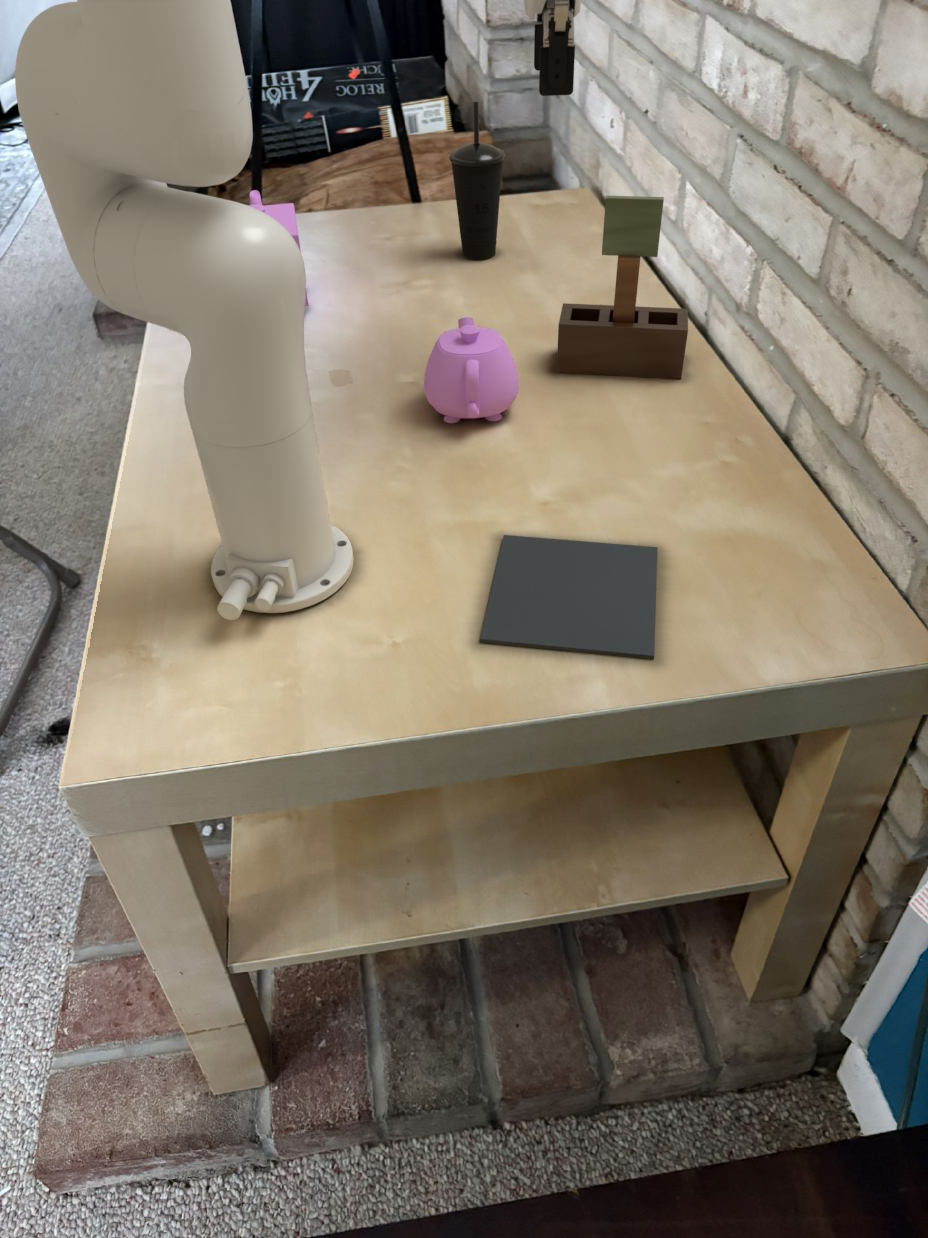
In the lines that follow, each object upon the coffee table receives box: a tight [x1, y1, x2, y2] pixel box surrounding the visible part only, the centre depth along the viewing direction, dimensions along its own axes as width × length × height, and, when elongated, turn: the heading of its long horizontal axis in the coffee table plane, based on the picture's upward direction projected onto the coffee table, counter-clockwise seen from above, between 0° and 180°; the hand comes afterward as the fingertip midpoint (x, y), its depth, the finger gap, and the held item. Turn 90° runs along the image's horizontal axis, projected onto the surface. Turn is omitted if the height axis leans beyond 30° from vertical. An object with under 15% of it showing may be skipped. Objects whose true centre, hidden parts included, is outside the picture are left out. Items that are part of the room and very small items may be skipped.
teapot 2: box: [423, 316, 520, 424], centre depth 100 cm, size 10×15×9 cm
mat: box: [479, 534, 658, 660], centre depth 79 cm, size 14×14×1 cm
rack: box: [556, 302, 689, 380], centre depth 107 cm, size 6×14×6 cm, turn 80°
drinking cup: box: [448, 101, 506, 261], centre depth 129 cm, size 8×8×20 cm
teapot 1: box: [247, 189, 309, 307], centre depth 122 cm, size 20×10×12 cm, turn 10°
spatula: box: [601, 195, 665, 323], centre depth 103 cm, size 2×6×19 cm, turn 80°
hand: (552, 81), depth 91 cm, fingers open, 9 cm apart
